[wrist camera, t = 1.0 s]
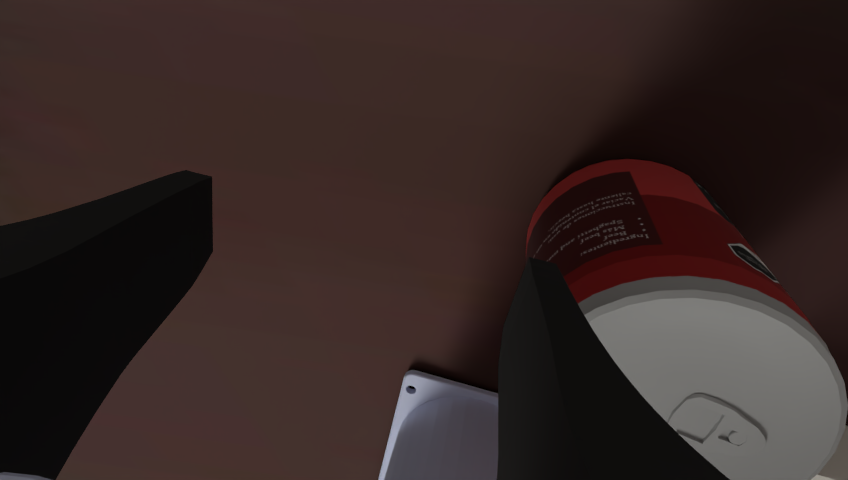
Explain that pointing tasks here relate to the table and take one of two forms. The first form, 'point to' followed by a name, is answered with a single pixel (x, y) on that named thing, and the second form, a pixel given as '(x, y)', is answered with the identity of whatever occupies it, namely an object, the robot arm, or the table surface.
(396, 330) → the table surface
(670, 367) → the canned food
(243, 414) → the table surface
